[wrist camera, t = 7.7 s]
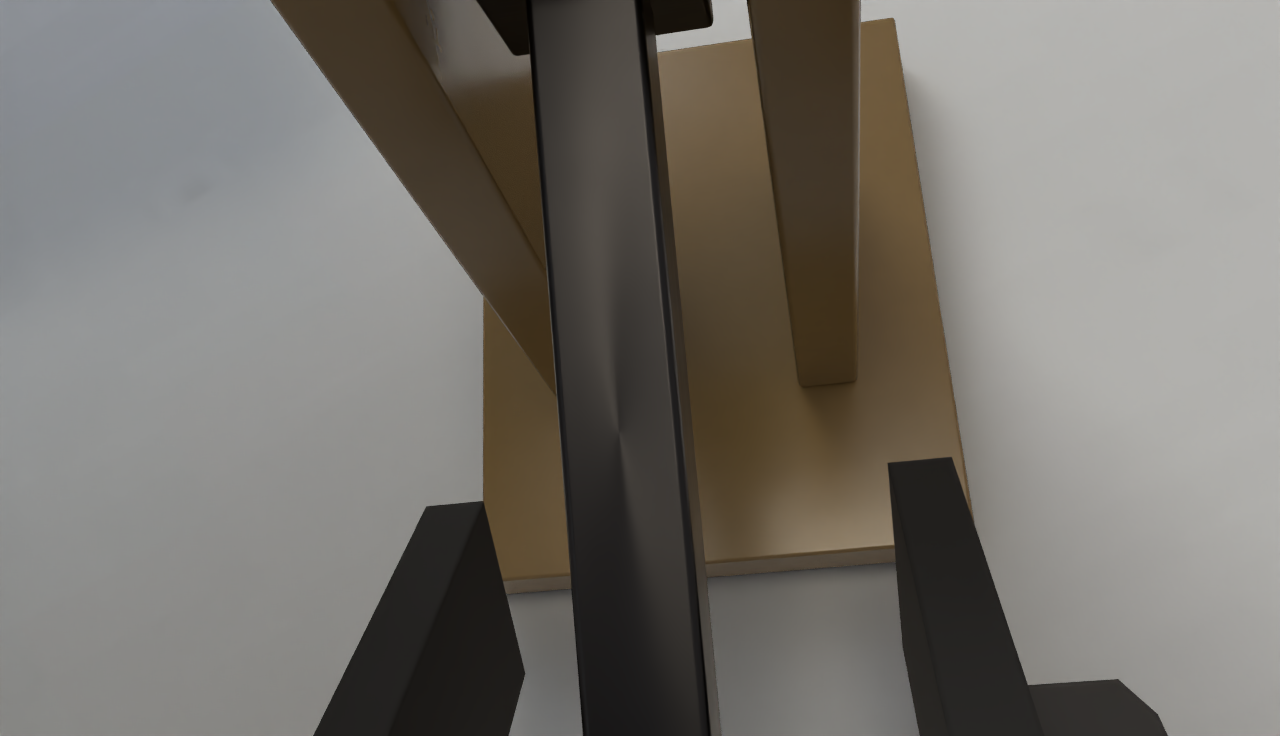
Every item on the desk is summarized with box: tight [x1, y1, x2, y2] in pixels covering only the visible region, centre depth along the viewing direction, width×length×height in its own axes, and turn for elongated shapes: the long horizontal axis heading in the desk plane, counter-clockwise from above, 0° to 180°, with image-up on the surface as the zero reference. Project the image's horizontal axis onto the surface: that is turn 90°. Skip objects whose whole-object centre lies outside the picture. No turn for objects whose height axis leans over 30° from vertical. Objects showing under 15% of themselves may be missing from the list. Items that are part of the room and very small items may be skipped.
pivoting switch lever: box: [476, 0, 722, 736], centre depth 11 cm, size 12×5×2 cm, turn 3°
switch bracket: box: [270, 0, 974, 594], centre depth 16 cm, size 10×8×13 cm
